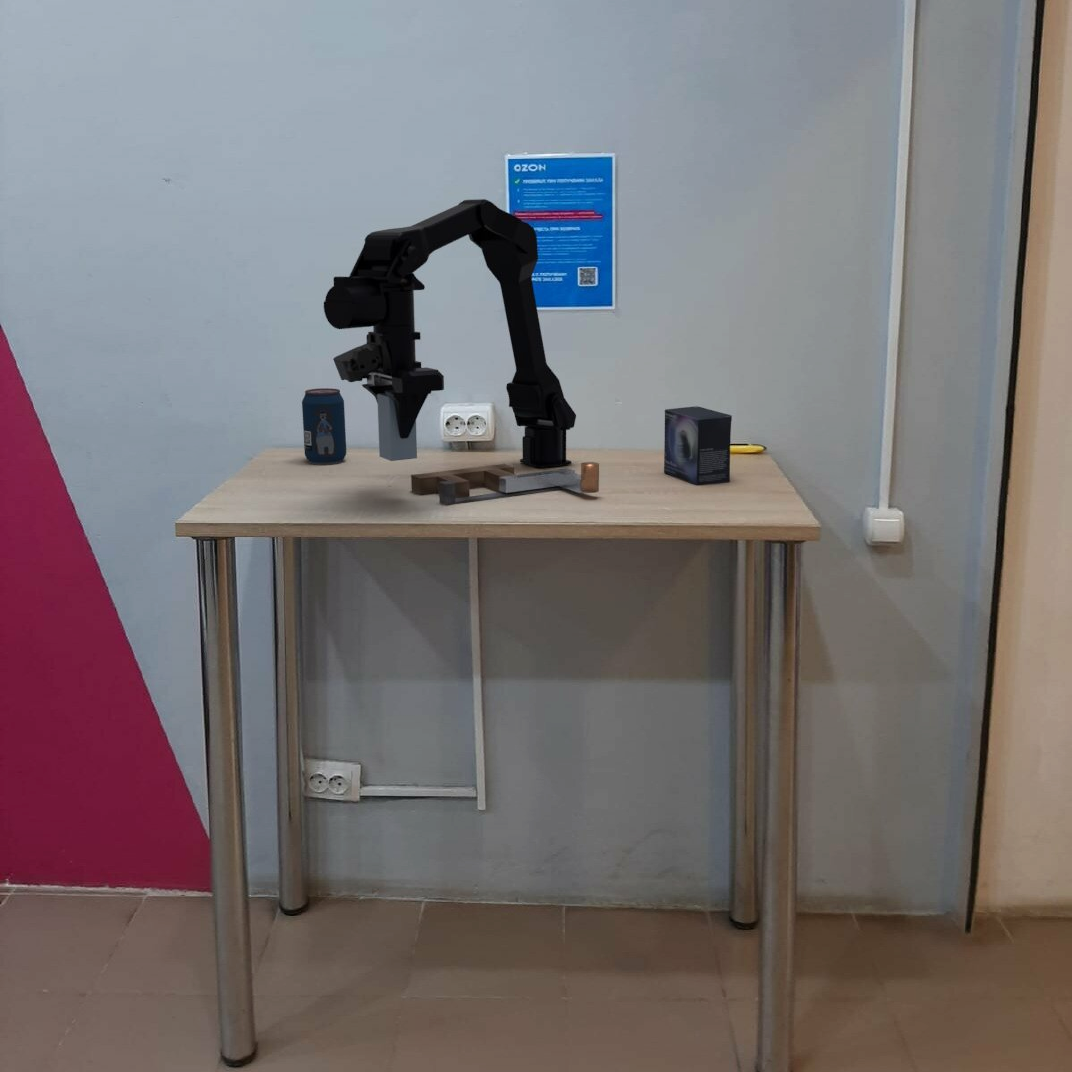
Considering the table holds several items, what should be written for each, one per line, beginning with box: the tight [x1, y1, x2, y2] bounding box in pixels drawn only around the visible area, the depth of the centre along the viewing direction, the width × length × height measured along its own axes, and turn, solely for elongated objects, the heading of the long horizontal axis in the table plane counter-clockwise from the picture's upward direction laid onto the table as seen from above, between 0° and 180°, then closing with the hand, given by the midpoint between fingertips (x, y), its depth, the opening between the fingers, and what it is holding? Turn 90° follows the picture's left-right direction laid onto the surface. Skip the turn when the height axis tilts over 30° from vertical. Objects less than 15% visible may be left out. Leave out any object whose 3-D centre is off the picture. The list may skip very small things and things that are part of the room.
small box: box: [663, 405, 733, 486], centre depth 182 cm, size 11×6×10 cm, turn 23°
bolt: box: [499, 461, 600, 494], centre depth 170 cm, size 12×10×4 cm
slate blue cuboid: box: [377, 393, 418, 462], centre depth 166 cm, size 4×4×9 cm
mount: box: [410, 463, 567, 506], centre depth 175 cm, size 22×11×3 cm, turn 121°
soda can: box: [301, 387, 347, 465], centre depth 196 cm, size 7×7×12 cm
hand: (397, 436), depth 166 cm, fingers closed on slate blue cuboid, 4 cm apart
